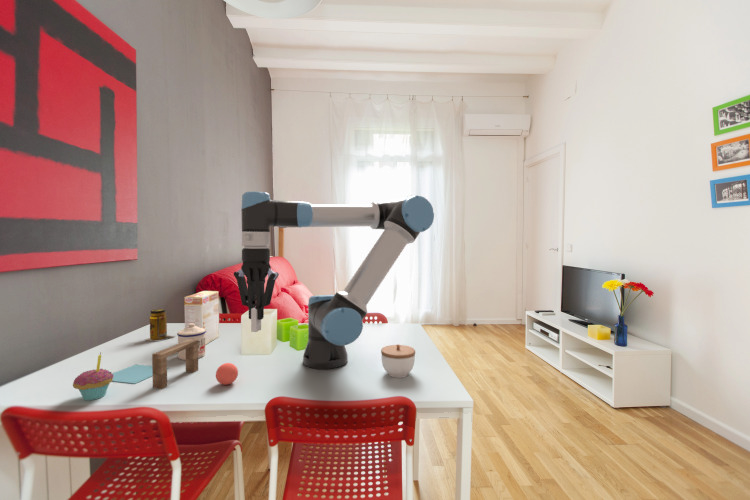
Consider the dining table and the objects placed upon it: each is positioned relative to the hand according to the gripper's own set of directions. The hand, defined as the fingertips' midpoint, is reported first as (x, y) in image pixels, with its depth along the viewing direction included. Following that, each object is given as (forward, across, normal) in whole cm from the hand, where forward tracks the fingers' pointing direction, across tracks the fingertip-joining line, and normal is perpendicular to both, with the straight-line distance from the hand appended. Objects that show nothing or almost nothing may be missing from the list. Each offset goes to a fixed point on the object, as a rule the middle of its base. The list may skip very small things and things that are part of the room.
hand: (256, 330), depth 106 cm
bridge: (+16, -26, 0) cm, 31 cm away
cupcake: (+17, -38, -16) cm, 45 cm away
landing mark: (+16, -41, 0) cm, 45 cm away
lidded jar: (+17, +38, +20) cm, 46 cm away
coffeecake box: (+17, -44, +35) cm, 59 cm away
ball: (+13, -10, 0) cm, 16 cm away
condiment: (+17, -64, +35) cm, 75 cm away
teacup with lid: (+17, -36, +20) cm, 45 cm away
